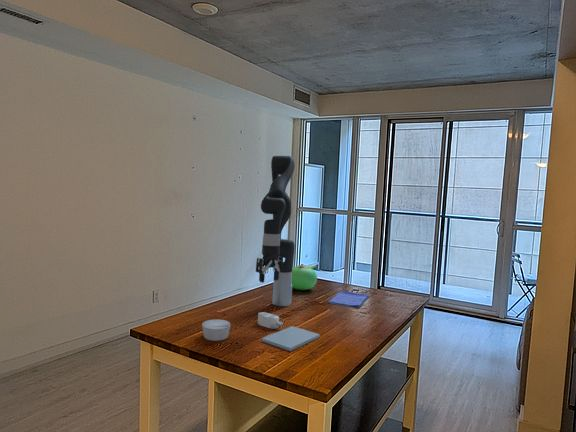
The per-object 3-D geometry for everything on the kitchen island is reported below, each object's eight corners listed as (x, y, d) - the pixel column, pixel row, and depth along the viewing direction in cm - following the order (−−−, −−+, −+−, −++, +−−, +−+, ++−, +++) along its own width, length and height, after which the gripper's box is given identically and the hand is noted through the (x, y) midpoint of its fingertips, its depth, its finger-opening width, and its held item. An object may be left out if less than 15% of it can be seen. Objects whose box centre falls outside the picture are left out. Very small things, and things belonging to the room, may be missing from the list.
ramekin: (217, 344, 160) (217, 330, 160) (195, 337, 166) (195, 324, 166) (235, 336, 170) (236, 323, 169) (214, 330, 176) (215, 317, 175)
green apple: (283, 291, 244) (284, 266, 243) (288, 284, 260) (289, 260, 259) (314, 294, 241) (316, 268, 240) (317, 287, 258) (319, 263, 256)
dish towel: (369, 298, 239) (369, 293, 239) (359, 309, 218) (360, 304, 217) (339, 294, 246) (339, 289, 246) (327, 304, 224) (327, 298, 224)
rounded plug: (262, 321, 189) (262, 311, 189) (284, 328, 182) (285, 318, 181) (255, 323, 186) (256, 313, 185) (278, 331, 178) (278, 320, 178)
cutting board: (292, 328, 182) (292, 326, 181) (319, 337, 173) (319, 334, 173) (261, 341, 166) (261, 338, 166) (290, 351, 157) (290, 348, 157)
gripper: (276, 242, 192) (274, 278, 192) (253, 243, 181) (250, 281, 182) (288, 244, 187) (286, 281, 187) (265, 245, 176) (263, 284, 177)
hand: (268, 281), depth 185 cm, fingers open, 8 cm apart
